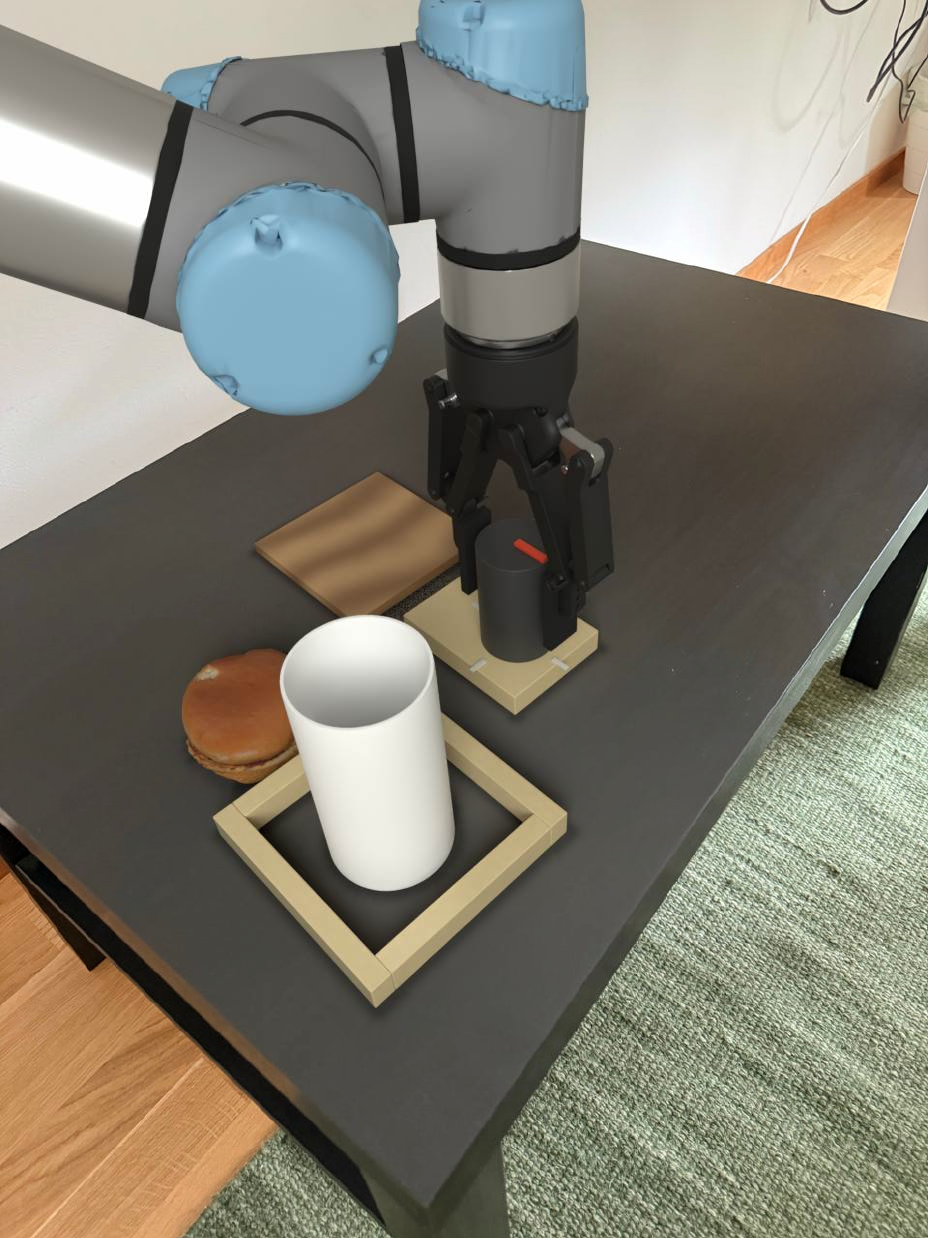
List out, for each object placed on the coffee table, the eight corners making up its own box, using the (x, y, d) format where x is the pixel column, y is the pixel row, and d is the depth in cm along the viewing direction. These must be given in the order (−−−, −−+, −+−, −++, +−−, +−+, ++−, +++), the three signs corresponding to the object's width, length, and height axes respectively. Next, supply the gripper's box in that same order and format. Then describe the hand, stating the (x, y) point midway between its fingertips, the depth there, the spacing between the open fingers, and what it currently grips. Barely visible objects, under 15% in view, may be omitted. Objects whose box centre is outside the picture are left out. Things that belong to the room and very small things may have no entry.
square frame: (220, 835, 61) (211, 816, 59) (403, 698, 68) (400, 679, 67) (375, 1009, 52) (370, 992, 51) (567, 831, 59) (567, 812, 58)
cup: (302, 850, 60) (246, 688, 48) (381, 761, 64) (347, 594, 53) (403, 915, 56) (368, 757, 45) (479, 816, 61) (465, 650, 49)
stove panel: (401, 635, 73) (398, 616, 71) (490, 573, 77) (489, 554, 76) (520, 726, 66) (519, 706, 64) (610, 651, 70) (611, 632, 69)
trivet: (256, 551, 81) (253, 543, 80) (379, 479, 87) (377, 470, 87) (356, 631, 73) (355, 622, 73) (483, 545, 80) (482, 536, 79)
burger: (295, 795, 63) (281, 753, 59) (169, 776, 64) (149, 734, 61) (339, 685, 69) (329, 643, 66) (224, 671, 71) (208, 628, 68)
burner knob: (465, 636, 69) (457, 541, 63) (517, 598, 72) (515, 503, 65) (519, 675, 66) (516, 579, 60) (571, 634, 69) (575, 538, 62)
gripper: (705, 350, 47) (663, 654, 63) (435, 243, 58) (458, 525, 75) (609, 412, 44) (590, 716, 60) (342, 286, 55) (387, 571, 71)
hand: (517, 610), depth 67 cm, fingers open, 8 cm apart
